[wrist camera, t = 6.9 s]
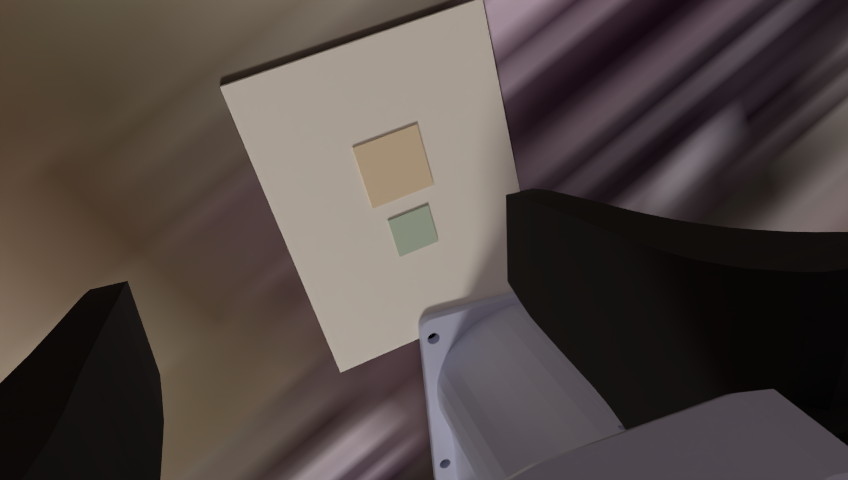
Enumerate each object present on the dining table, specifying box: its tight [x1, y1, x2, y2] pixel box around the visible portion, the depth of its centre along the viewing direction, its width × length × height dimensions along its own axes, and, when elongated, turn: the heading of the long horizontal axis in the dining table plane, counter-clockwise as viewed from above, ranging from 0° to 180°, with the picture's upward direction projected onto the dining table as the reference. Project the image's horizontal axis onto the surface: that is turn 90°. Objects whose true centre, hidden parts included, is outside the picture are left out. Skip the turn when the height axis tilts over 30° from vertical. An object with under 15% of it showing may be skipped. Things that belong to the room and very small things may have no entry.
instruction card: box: [220, 0, 520, 373], centre depth 23 cm, size 12×9×1 cm
